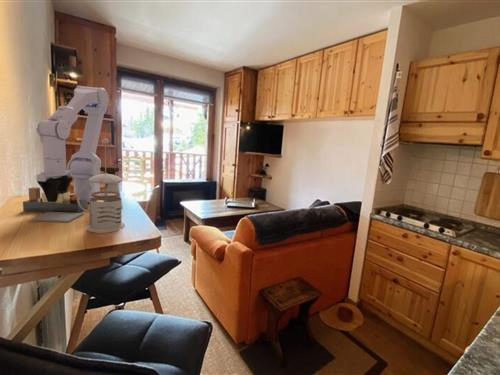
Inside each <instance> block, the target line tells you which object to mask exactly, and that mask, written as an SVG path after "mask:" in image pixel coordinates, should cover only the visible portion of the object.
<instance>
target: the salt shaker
mask: <svg viewBox="0 0 500 375" xmlns="http://www.w3.org/2000/svg"><path fill="white" fill-rule="evenodd" d="M116 176H117V177H119V176H118V175H116ZM120 183H121V182H118V183H107V184H108V185H107V189H106V191H109V192H110V191H112V192H119V193H120V195H119V196H117V197H120V198H121V199H122V197H121V192H120V186H119V184H120ZM103 202H106V201H103ZM102 207H105V208H109V209H114V210H117V208H111V207H108V206H102ZM122 211H123V202H122V200H121V212H122ZM105 212H108V213H112V214H117V213H116V212H111V211H105ZM105 216H108V217H111V218H115V217H114V216H109V215H105Z"/></svg>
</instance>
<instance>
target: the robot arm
mask: <svg viewBox="0 0 500 375" xmlns="http://www.w3.org/2000/svg"><path fill="white" fill-rule="evenodd" d="M109 102H110V97H109V94H108V92H107V90H106V89H105V88H104V87H91V86H83V85H76V88H75V89H73V97H72V98H71V99H70V101H69V102H68V103H67V105H59V106H58V107H57V109H56V110H55V111H54V113H53V114H51V116H50V117H49V118H48V119H43V120H41V121H40V122H38V124H37V127H36V133H37V134H38V136H39V141H40V143H41V144H42V157H43V171H40V172H39V174H36V182H37V184H38V185H39V187H40V189H42V191H43V192H44V193H45V196H46V198H47V201H48V202H56V199H57V191H68V189H69V186H70V185H71V183H72V181H73V194H78V192H79V190H80V189H81V188H82V187H83V186H85V185H90V186H91V191H90V190H89V187H87V186H85V187H87V188H85V187H83V188H85V189H84V190H83V191H82V192H81V191H80V192H81V194H80V192H79V194H80V200H88V203H90V199H91V198H94V197H93V196H92V195H91V194H92V193H94V192H99V191H101V188H100V185H101V183H93V182H90V181H89V179H90V178H91V177H93V176H96V175H100V174H102V173H101V172H102V171H100V167H102V160H101V158H100V157H99V156H98V155H97V154H96V152H97V148H98V143H99V139H100V136H101V135H100V133H101V129H102V126H103V125H102V124H103V120H104V116H105V113H107V110H108V105H109ZM81 110H82V111H84V112H86V113H87V117H86V121H85V126H84V129H83V130H84V131H83V134H82V138H81V142H80V148H79V150H78V151H77V152H75V153H74V154H73V153H72V155H71V158H70V159H69V161H68V163H67V147H66V140H67V139H68V138H69V137H70V136H71V130H72V126H73V125H74V124H75V122H77V120H78V118H79V115H78V113H79V112H80V111H81ZM83 188H82V189H83ZM82 189H81V190H82Z"/></svg>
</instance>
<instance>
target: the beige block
mask: <svg viewBox="0 0 500 375" xmlns="http://www.w3.org/2000/svg"><path fill="white" fill-rule="evenodd" d="M70 195H71V191H68V190H67V191H57V199H56V202H50V203H64V202H67V201H70ZM41 197H42V202H48V201H47V198H46V196H45V193H44V191H43V192H41Z"/></svg>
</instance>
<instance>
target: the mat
mask: <svg viewBox="0 0 500 375" xmlns="http://www.w3.org/2000/svg"><path fill="white" fill-rule="evenodd" d="M82 216H84V212H80V213H69V212H44V213H43V214H40V215H37V216H35V217H33V218H30V222H51V223H52V222H55V223H71V222H72V221H74V220H76V219H78V218H80V217H82Z"/></svg>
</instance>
